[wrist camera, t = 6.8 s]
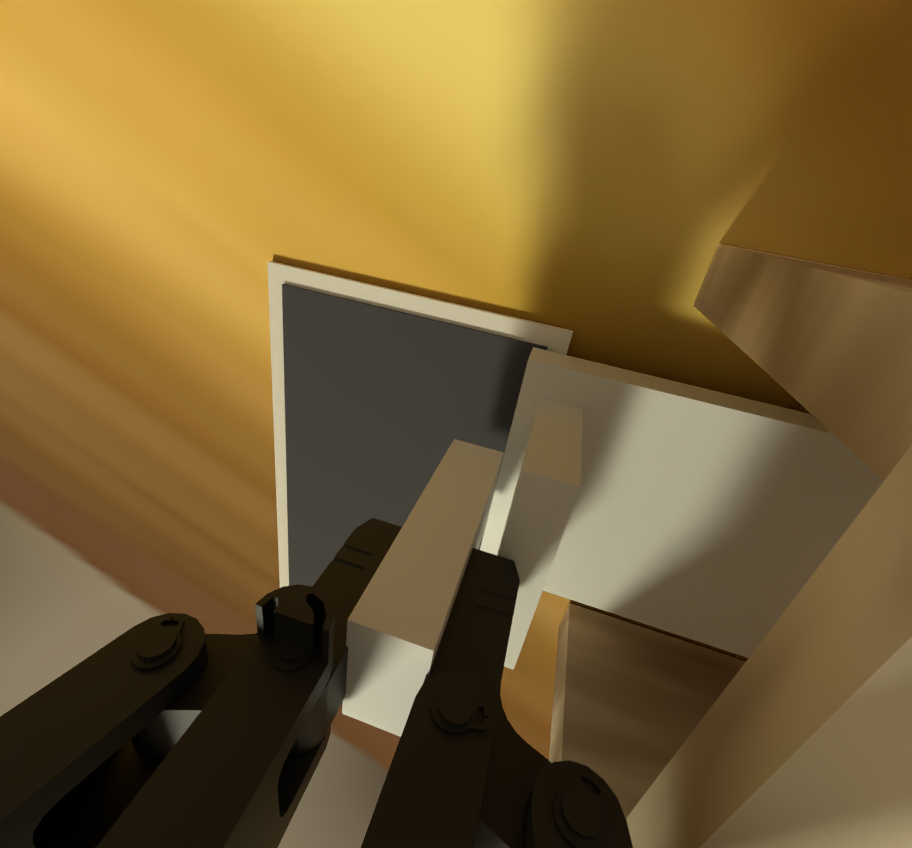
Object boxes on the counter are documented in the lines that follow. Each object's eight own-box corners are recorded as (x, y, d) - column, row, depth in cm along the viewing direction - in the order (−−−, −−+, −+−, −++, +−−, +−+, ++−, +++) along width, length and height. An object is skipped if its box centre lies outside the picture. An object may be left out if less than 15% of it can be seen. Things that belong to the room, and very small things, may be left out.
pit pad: (271, 261, 15) (265, 261, 15) (573, 330, 13) (572, 333, 13) (283, 606, 23) (279, 610, 23) (471, 675, 21) (469, 681, 21)
